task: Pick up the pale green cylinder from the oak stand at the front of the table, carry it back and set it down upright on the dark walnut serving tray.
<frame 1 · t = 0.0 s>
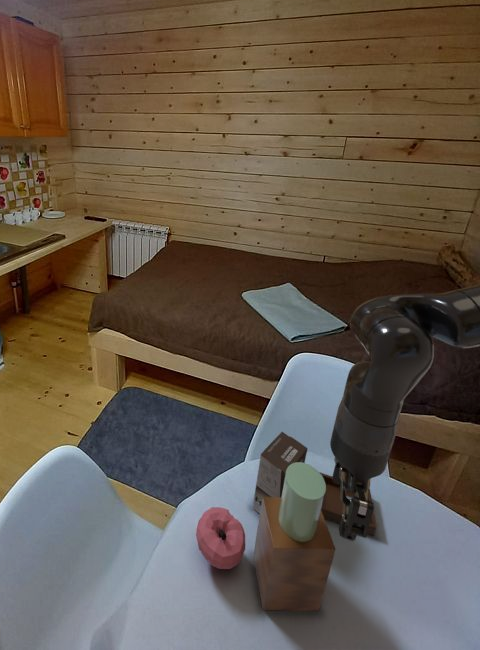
hand: (342, 507, 55), 23 cm above the table, tool pointing down, fingers open, 8 cm apart
tray: (341, 505, 78), on the table
coffee box: (274, 504, 78), on the table
apple: (218, 557, 68), on the table
pale green cylinder: (296, 521, 59), point 17 cm above the table, touching stand
stand: (284, 582, 64), on the table
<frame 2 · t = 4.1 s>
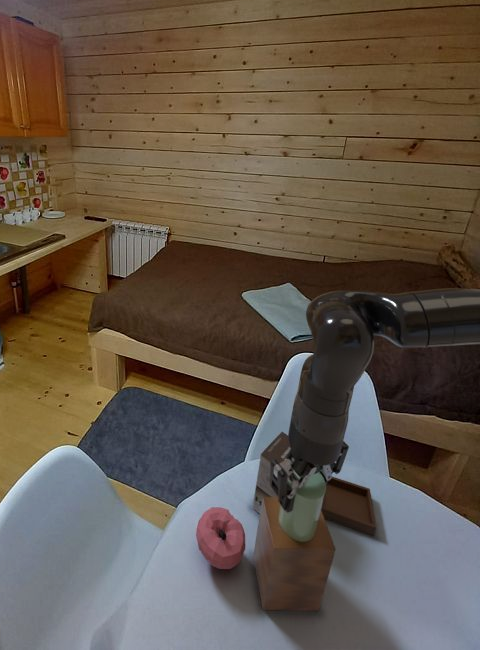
hand: (301, 498, 57), 23 cm above the table, tool pointing down, fingers closed on pale green cylinder, 6 cm apart
pale green cylinder: (296, 521, 59), point 17 cm above the table, touching gripper, stand
everything else where it was.
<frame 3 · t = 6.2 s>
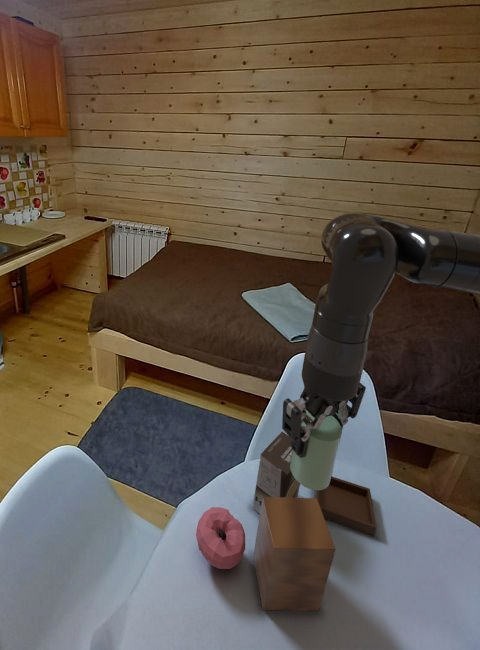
hand: (315, 445, 53), 34 cm above the table, tool pointing down, fingers closed on pale green cylinder, 6 cm apart
pale green cylinder: (309, 471, 55), point 28 cm above the table, touching gripper
everything else where it was.
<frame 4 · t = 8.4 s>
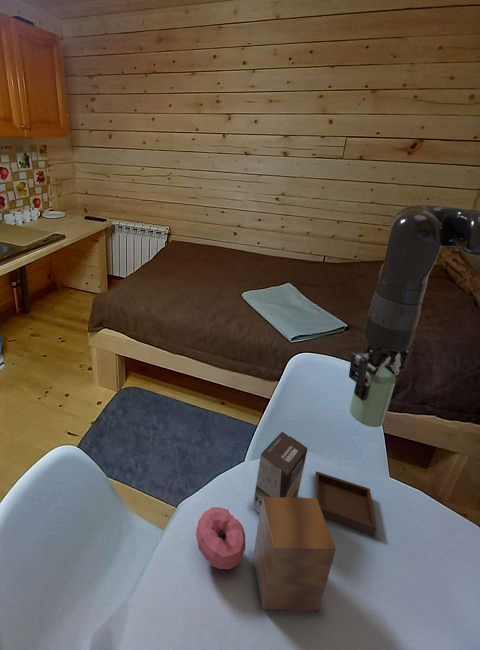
hand: (372, 392, 67), 33 cm above the table, tool pointing down, fingers closed on pale green cylinder, 6 cm apart
pale green cylinder: (366, 414, 68), point 27 cm above the table, touching gripper
everything else where it was.
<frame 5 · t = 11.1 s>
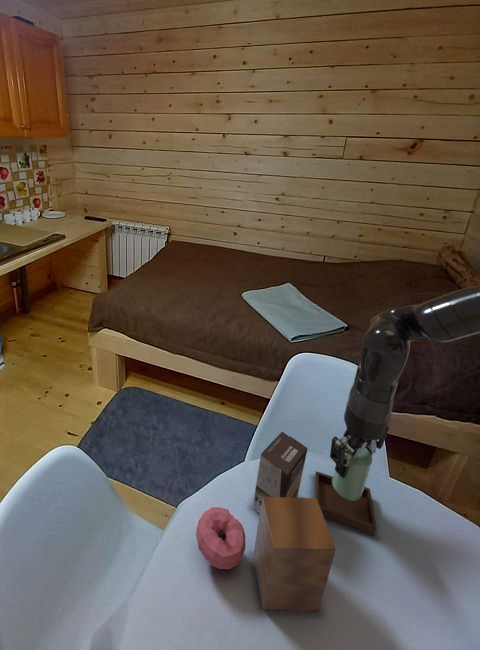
hand: (352, 468, 74), 12 cm above the table, tool pointing down, fingers closed on pale green cylinder, 6 cm apart
pale green cylinder: (346, 486, 76), point 6 cm above the table, touching gripper
everything else where it was.
when the fingers open (6 cm above the table, at t = 13.1 s): pale green cylinder stays where it is, resting on tray.
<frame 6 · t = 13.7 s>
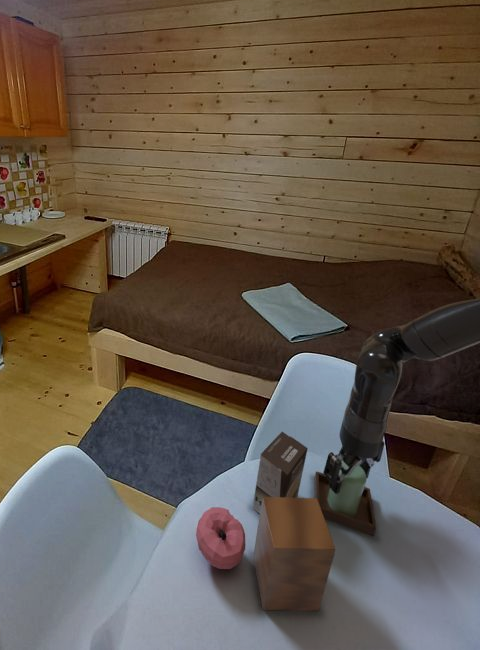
hand: (348, 482, 75), 7 cm above the table, tool pointing down, fingers open, 8 cm apart
pale green cylinder: (342, 503, 77), point 1 cm above the table, touching tray
everything else where it was.
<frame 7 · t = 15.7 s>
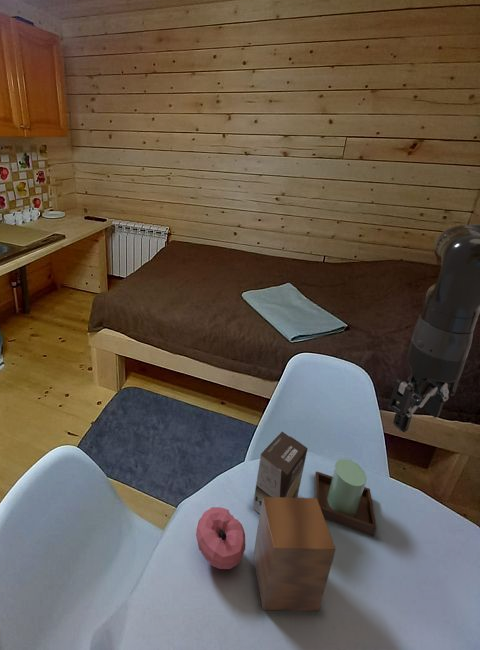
hand: (416, 420, 62), 31 cm above the table, tool pointing down, fingers open, 8 cm apart
nothing on the table moved.
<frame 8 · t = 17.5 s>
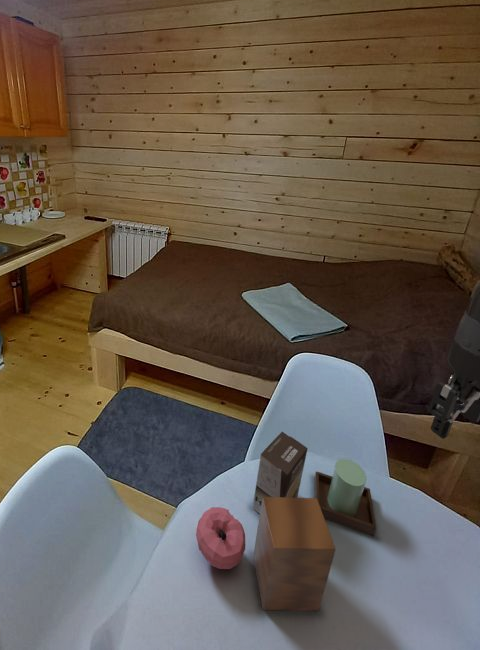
hand: (454, 426, 57), 34 cm above the table, tool pointing down, fingers open, 8 cm apart
nothing on the table moved.
at the end: pale green cylinder inside the target area in the tray (0.1 cm from its centre), point 0.6 cm above the tray's base; pale green cylinder tilted 0°; the gripper is holding nothing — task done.
